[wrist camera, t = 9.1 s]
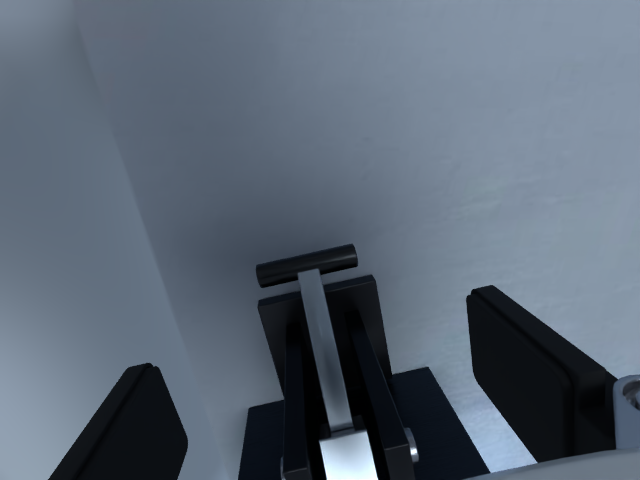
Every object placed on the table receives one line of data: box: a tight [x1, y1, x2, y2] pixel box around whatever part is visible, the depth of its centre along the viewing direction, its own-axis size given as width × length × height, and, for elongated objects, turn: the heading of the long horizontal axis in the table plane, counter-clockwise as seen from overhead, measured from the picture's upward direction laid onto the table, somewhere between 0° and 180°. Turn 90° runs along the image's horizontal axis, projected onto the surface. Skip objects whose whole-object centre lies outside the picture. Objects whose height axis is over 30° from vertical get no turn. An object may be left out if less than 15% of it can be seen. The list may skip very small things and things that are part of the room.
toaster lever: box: [256, 244, 379, 480], centre depth 17 cm, size 11×5×2 cm, turn 12°
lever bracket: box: [258, 275, 419, 480], centre depth 20 cm, size 8×8×12 cm
